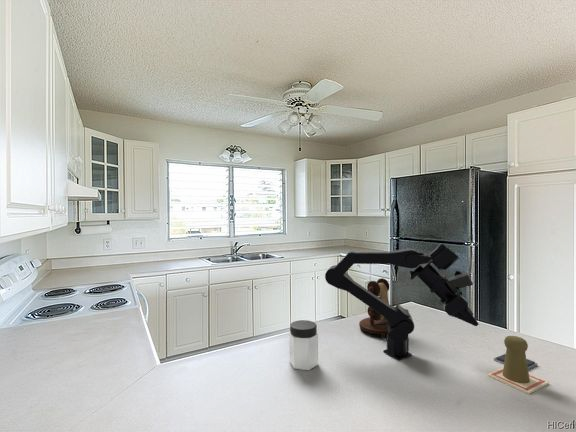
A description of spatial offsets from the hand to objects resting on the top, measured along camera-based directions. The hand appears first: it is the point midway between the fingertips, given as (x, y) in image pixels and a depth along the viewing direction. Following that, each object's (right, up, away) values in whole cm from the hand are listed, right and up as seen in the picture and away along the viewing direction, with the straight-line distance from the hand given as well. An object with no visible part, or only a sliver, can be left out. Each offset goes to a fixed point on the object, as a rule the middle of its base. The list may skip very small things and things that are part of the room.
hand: (474, 320), depth 93 cm
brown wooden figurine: (-21, -14, +28) cm, 37 cm away
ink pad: (+13, -13, +1) cm, 19 cm away
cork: (+6, -13, -8) cm, 17 cm away
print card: (+7, -14, -8) cm, 17 cm away
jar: (-51, -14, +2) cm, 53 cm away
